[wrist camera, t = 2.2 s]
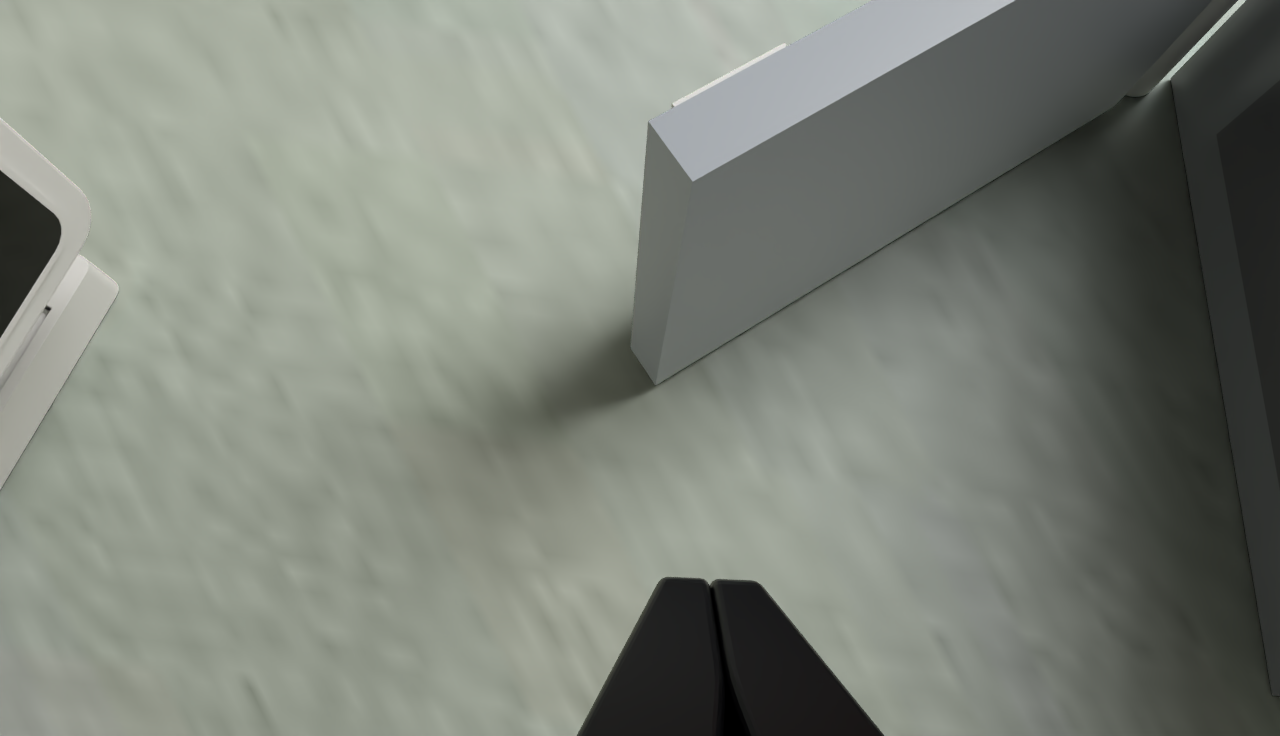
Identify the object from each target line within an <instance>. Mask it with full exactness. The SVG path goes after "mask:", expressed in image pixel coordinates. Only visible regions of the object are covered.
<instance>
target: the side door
mask: <svg viewBox="0 0 1280 736" xmlns="http://www.w3.org/2000/svg"><path fill="white" fill-rule="evenodd" d="M1211 1H1212V0H872V1H870V2H868V3H866V4H864V5H862V6H860V7H859V8H857V9H855V10H853V11H851V12H849V13H847V14H846V15H844V16H842V17H840V18H838V19H836V20H835V21H833V22H831V23H829V24H827V25H825V26H823V27H822V28H820V29H818V30H816V31H814V32H812V33H810V34H809V35H807V36H805V37H803V38H801V39H799V40H797V41H796V42H794V43H792V44H790V45H788V46H787V45H786V44H785V43H783V44H781V45H779V46H777V47H776V48H774V49H772V50H770V51H768V52H766V53H764V54H763V55H761V56H759V57H757V58H755V59H753V60H751V61H750V62H748V63H746V64H744V65H742V66H740V67H738V68H737V69H735V70H733V71H731V72H729V73H727V74H725V75H724V76H722V77H720V78H718V79H716V80H714V81H712V82H711V83H709V84H707V85H705V86H703V87H701V88H699V89H698V90H696V91H694V92H692V93H690V94H688V95H687V96H685V97H683V98H681V99H679V100H677V101H675V102H674V103H672V108H671V109H670V110H668V111H666V112H664V113H662V114H661V115H659V116H657V117H655V118H653V119H651V120H649V121H648V131H647V144H646V156H645V169H644V182H643V194H642V207H641V220H640V232H639V245H638V258H637V270H636V283H635V296H634V308H633V321H632V333H631V346H630V348H631V350H632V351H633V353H634V354H635V356H636V357H637V359H638V360H639V362H640V363H641V365H642V366H643V368H644V369H645V371H646V372H647V374H648V375H649V377H650V378H651V380H652V381H653V383H654V384H655V386H656V385H657V384H659V383H661V382H662V381H664V380H666V379H667V378H669V377H670V376H672V375H674V374H675V373H677V372H679V371H680V370H682V369H684V368H685V367H687V366H689V365H690V364H692V363H693V362H695V361H697V360H698V359H700V358H702V357H703V356H705V355H707V354H708V353H710V352H712V351H713V350H715V349H716V348H718V347H720V346H721V345H723V344H725V343H726V342H728V341H730V340H731V339H733V338H735V337H736V336H738V335H739V334H741V333H743V332H744V331H746V330H748V329H749V328H751V327H753V326H754V325H756V324H758V323H759V322H761V321H762V320H764V319H766V318H767V317H769V316H771V315H772V314H774V313H776V312H777V311H779V310H781V309H782V308H784V307H785V306H787V305H789V304H790V303H792V302H794V301H795V300H797V299H799V298H800V297H802V296H804V295H805V294H807V293H808V292H810V291H812V290H813V289H815V288H817V287H818V286H820V285H822V284H823V283H825V282H827V281H828V280H830V279H831V278H833V277H835V276H836V275H838V274H840V273H841V272H843V271H845V270H846V269H848V268H849V267H851V266H853V265H854V264H856V263H858V262H859V261H861V260H863V259H864V258H866V257H868V256H869V255H871V254H872V253H874V252H876V251H877V250H879V249H881V248H882V247H884V246H886V245H887V244H889V243H891V242H892V241H894V240H895V239H897V238H899V237H900V236H902V235H904V234H905V233H907V232H909V231H910V230H912V229H914V228H915V227H917V226H918V225H920V224H922V223H923V222H925V221H927V220H928V219H930V218H932V217H933V216H935V215H937V214H938V213H940V212H941V211H943V210H945V209H946V208H948V207H950V206H951V205H953V204H955V203H956V202H958V201H960V200H961V199H963V198H964V197H966V196H968V195H969V194H971V193H973V192H974V191H976V190H978V189H979V188H981V187H983V186H984V185H986V184H987V183H989V182H991V181H992V180H994V179H996V178H997V177H999V176H1001V175H1002V174H1004V173H1006V172H1007V171H1009V170H1010V169H1012V168H1014V167H1015V166H1017V165H1019V164H1020V163H1022V162H1024V161H1025V160H1027V159H1029V158H1030V157H1032V156H1033V155H1035V154H1037V153H1038V152H1040V151H1042V150H1043V149H1045V148H1047V147H1048V146H1050V145H1052V144H1053V143H1055V142H1056V141H1058V140H1060V139H1061V138H1063V137H1065V136H1066V135H1068V134H1070V133H1071V132H1073V131H1074V130H1076V129H1078V128H1079V127H1081V126H1083V125H1084V124H1086V123H1088V122H1089V121H1091V120H1093V119H1094V118H1096V117H1097V116H1099V115H1101V114H1102V113H1104V112H1106V111H1107V110H1109V109H1111V108H1112V107H1114V106H1115V105H1116V104H1117V103H1118V102H1119V101H1120V100H1121V99H1122V98H1123V97H1124V96H1125V95H1126V94H1127V92H1128V91H1129V90H1130V89H1131V88H1132V87H1133V86H1134V85H1135V84H1136V83H1137V82H1138V80H1139V79H1140V78H1141V77H1142V76H1143V75H1144V74H1145V73H1146V72H1147V71H1148V70H1149V69H1150V67H1151V66H1152V65H1153V64H1154V63H1155V62H1156V61H1157V60H1158V59H1159V58H1160V57H1161V55H1162V54H1163V53H1164V52H1165V51H1166V50H1167V49H1168V48H1169V47H1170V46H1171V45H1172V44H1173V42H1174V41H1175V40H1176V39H1177V38H1178V37H1179V36H1180V35H1181V34H1182V33H1183V32H1184V31H1185V29H1186V28H1187V27H1188V26H1189V25H1190V24H1191V23H1192V22H1193V21H1194V20H1195V19H1196V17H1197V16H1198V15H1199V14H1200V13H1201V12H1202V11H1203V10H1204V9H1205V8H1206V7H1207V6H1208V4H1209V3H1210V2H1211Z"/></svg>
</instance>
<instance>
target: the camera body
mask: <svg viewBox="0 0 1280 736" xmlns="http://www.w3.org/2000/svg"><path fill="white" fill-rule="evenodd" d="M1237 1H1238V0H1212V1H1211V2H1210V3H1209V4H1208V6H1207V7H1206V8H1205V9H1204V10H1203V11H1202V12H1201V13H1200V14H1199V15H1198V16H1197V17H1196V19H1195V20H1194V21H1193V22H1192V23H1191V24H1190V25H1189V26H1188V27H1187V28H1186V29H1185V31H1184V32H1183V33H1182V34H1181V35H1180V36H1179V37H1178V38H1177V39H1176V40H1175V41H1174V42H1173V44H1172V45H1171V46H1170V47H1169V48H1168V49H1167V50H1166V51H1165V52H1164V53H1163V54H1162V55H1161V57H1160V58H1159V59H1158V60H1157V61H1156V62H1155V63H1154V64H1153V65H1152V66H1151V67H1150V69H1149V70H1148V71H1147V72H1146V73H1145V74H1144V75H1143V76H1142V77H1141V78H1140V79H1139V80H1138V82H1137V83H1136V84H1135V85H1134V86H1133V87H1132V88H1131V89H1130V90H1129V91H1128V92H1127V94H1126V95H1127V96H1131V97H1140V96H1144V95H1146V94H1148V93H1149V92H1150V91H1151V90H1152V89H1153V88H1154V87H1155V86H1156V85H1157V84H1158V83H1159V82H1160V81H1161V80H1162V79H1163V78H1164V77H1165V76H1166V75H1167V74H1168V73H1169V72H1170V71H1171V69H1172V68H1173V67H1174V66H1175V65H1176V64H1177V63H1178V62H1179V61H1180V60H1181V59H1182V58H1183V57H1184V56H1185V55H1186V54H1187V53H1188V52H1189V51H1190V50H1191V49H1192V48H1193V47H1194V46H1195V44H1196V43H1197V42H1198V41H1199V40H1200V39H1201V38H1202V37H1203V36H1204V35H1205V34H1206V33H1207V32H1208V31H1209V30H1210V29H1211V28H1212V27H1213V26H1214V25H1215V24H1216V23H1217V22H1218V20H1219V19H1220V18H1221V17H1222V16H1223V15H1224V14H1225V13H1226V12H1227V11H1228V10H1229V9H1230V8H1231V7H1232V6H1233V5H1234V4H1235V3H1236V2H1237ZM1171 83H1172V89H1173V95H1174V101H1175V108H1176V114H1177V120H1178V126H1179V132H1180V138H1181V144H1182V150H1183V156H1184V162H1185V168H1186V174H1187V180H1188V187H1189V193H1190V199H1191V205H1192V211H1193V217H1194V223H1195V229H1196V235H1197V241H1198V247H1199V253H1200V260H1201V266H1202V272H1203V278H1204V284H1205V290H1206V296H1207V302H1208V308H1209V314H1210V320H1211V326H1212V333H1213V339H1214V345H1215V351H1216V357H1217V363H1218V369H1219V375H1220V381H1221V387H1222V393H1223V399H1224V406H1225V412H1226V418H1227V424H1228V430H1229V436H1230V442H1231V448H1232V454H1233V460H1234V466H1235V472H1236V479H1237V485H1238V491H1239V497H1240V503H1241V509H1242V515H1243V521H1244V527H1245V533H1246V539H1247V545H1248V551H1249V558H1250V564H1251V570H1252V576H1253V582H1254V588H1255V594H1256V600H1257V606H1258V612H1259V618H1260V624H1261V631H1262V637H1263V643H1264V649H1265V655H1266V661H1267V667H1268V673H1269V679H1270V685H1271V691H1272V696H1280V0H1246V1H1245V2H1244V4H1243V5H1242V6H1241V7H1240V8H1239V9H1238V10H1237V11H1236V12H1235V13H1234V14H1233V15H1232V16H1231V17H1230V18H1229V19H1228V20H1227V21H1226V22H1225V23H1224V24H1223V25H1222V26H1221V27H1220V28H1219V29H1218V30H1217V31H1216V32H1215V33H1214V34H1213V35H1212V36H1211V37H1210V38H1209V40H1208V41H1207V42H1206V43H1205V44H1204V45H1203V46H1202V47H1201V48H1200V49H1199V50H1198V51H1197V52H1196V53H1195V54H1194V55H1193V56H1192V57H1191V58H1190V59H1189V60H1188V61H1187V62H1186V63H1185V64H1184V65H1183V66H1182V67H1181V68H1180V69H1179V70H1178V71H1177V72H1176V73H1175V74H1174V75H1173V77H1172V78H1171Z"/></svg>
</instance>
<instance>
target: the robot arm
mask: <svg viewBox="0 0 1280 736" xmlns="http://www.w3.org/2000/svg"><path fill="white" fill-rule="evenodd" d="M577 736H884V735H883V733H882V732H881V731H880V730H879V728H878V727H877V726H876V725H875V724H874V722H873V721H872V720H871V719H870V717H869V716H868V715H867V714H866V713H865V711H864V710H863V709H862V708H861V706H860V705H859V704H858V703H857V701H856V700H855V699H854V698H853V697H852V695H851V694H850V693H849V692H848V690H847V689H846V688H845V687H844V686H843V684H842V683H841V682H840V681H839V679H838V678H837V677H836V676H835V674H834V673H833V672H832V671H831V670H830V668H829V667H828V666H827V665H826V663H825V662H824V661H823V660H822V659H821V657H820V656H819V655H818V654H817V652H816V651H815V650H814V649H813V647H812V646H811V645H810V644H809V643H808V641H807V640H806V639H805V638H804V636H803V635H802V634H801V633H800V632H799V630H798V629H797V628H796V627H795V625H794V624H793V623H792V622H791V621H790V619H789V618H788V617H787V616H786V614H785V613H784V612H783V611H782V609H781V608H780V607H779V606H778V605H777V603H776V602H775V601H774V600H773V598H772V597H771V596H770V595H769V594H768V592H767V591H766V590H765V589H764V587H763V586H762V585H761V584H759V583H758V582H756V581H751V580H727V579H716V580H714V581H713V582H712V583H711V585H710V586H709V584H708V582H707V581H706V580H704V579H701V578H681V577H665V578H663V579H661V580H660V581H659V582H658V584H657V586H656V588H655V589H654V591H653V593H652V595H651V597H650V599H649V601H648V603H647V604H646V606H645V608H644V610H643V612H642V614H641V616H640V618H639V620H638V621H637V623H636V625H635V627H634V629H633V631H632V633H631V635H630V636H629V638H628V640H627V642H626V644H625V646H624V648H623V650H622V652H621V653H620V655H619V657H618V659H617V661H616V663H615V665H614V667H613V668H612V670H611V672H610V674H609V676H608V678H607V680H606V682H605V684H604V685H603V687H602V689H601V691H600V693H599V695H598V697H597V699H596V700H595V702H594V704H593V706H592V708H591V710H590V712H589V714H588V715H587V717H586V719H585V721H584V723H583V725H582V727H581V729H580V731H579V732H578V734H577Z"/></svg>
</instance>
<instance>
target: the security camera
mask: <svg viewBox="0 0 1280 736" xmlns="http://www.w3.org/2000/svg"><path fill="white" fill-rule="evenodd" d="M90 226H91V208H90V205H89V201H88V198H87V197H86V196H85V194H84V193H83V192H82V190H81V189H80V188H79V187H78V186H76V185H75V184H74V183H73V182H72V181H71V180H70V179H69V178H68V177H66V176H65V175H64V174H63V173H62V172H61V171H60V170H59V169H57V168H56V167H55V166H54V165H53V164H52V163H51V162H50V161H49V160H47V159H46V158H45V157H44V156H43V155H42V154H41V153H40V152H38V151H37V150H36V149H35V148H34V147H33V146H32V145H31V144H30V143H28V142H27V141H26V140H25V139H24V138H23V137H22V136H21V135H19V134H18V133H17V132H16V131H15V130H14V129H13V128H12V127H11V126H9V125H8V124H7V123H6V122H5V121H4V120H3V119H2V118H0V490H1V488H2V486H3V485H4V483H5V481H6V480H7V478H8V476H9V475H10V473H11V471H12V470H13V468H14V466H15V465H16V463H17V461H18V460H19V458H20V456H21V455H22V453H23V451H24V450H25V448H26V446H27V445H28V443H29V441H30V440H31V438H32V436H33V435H34V433H35V431H36V430H37V428H38V426H39V425H40V423H41V421H42V420H43V418H44V416H45V415H46V413H47V411H48V410H49V408H50V406H51V405H52V403H53V401H54V400H55V398H56V396H57V395H58V393H59V391H60V390H61V388H62V386H63V385H64V383H65V381H66V380H67V378H68V376H69V375H70V373H71V371H72V370H73V368H74V366H75V364H76V363H77V361H78V359H79V358H80V356H81V354H82V353H83V351H84V349H85V348H86V346H87V344H88V343H89V341H90V339H91V338H92V336H93V334H94V333H95V331H96V329H97V328H98V326H99V324H100V323H101V321H102V319H103V318H104V316H105V314H106V313H107V311H108V309H109V308H110V306H111V304H112V303H113V301H114V299H115V298H116V296H117V294H118V291H119V287H118V284H117V283H116V281H115V280H113V279H112V278H111V277H109V276H108V275H107V274H106V273H104V272H103V271H102V270H100V269H99V268H98V267H96V266H95V265H94V264H93V263H91V262H90V261H89V260H87V259H86V258H85V257H83V256H81V255H78V254H79V252H80V251H81V249H82V247H83V245H84V243H85V241H86V239H87V237H88V234H89V230H90Z"/></svg>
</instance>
